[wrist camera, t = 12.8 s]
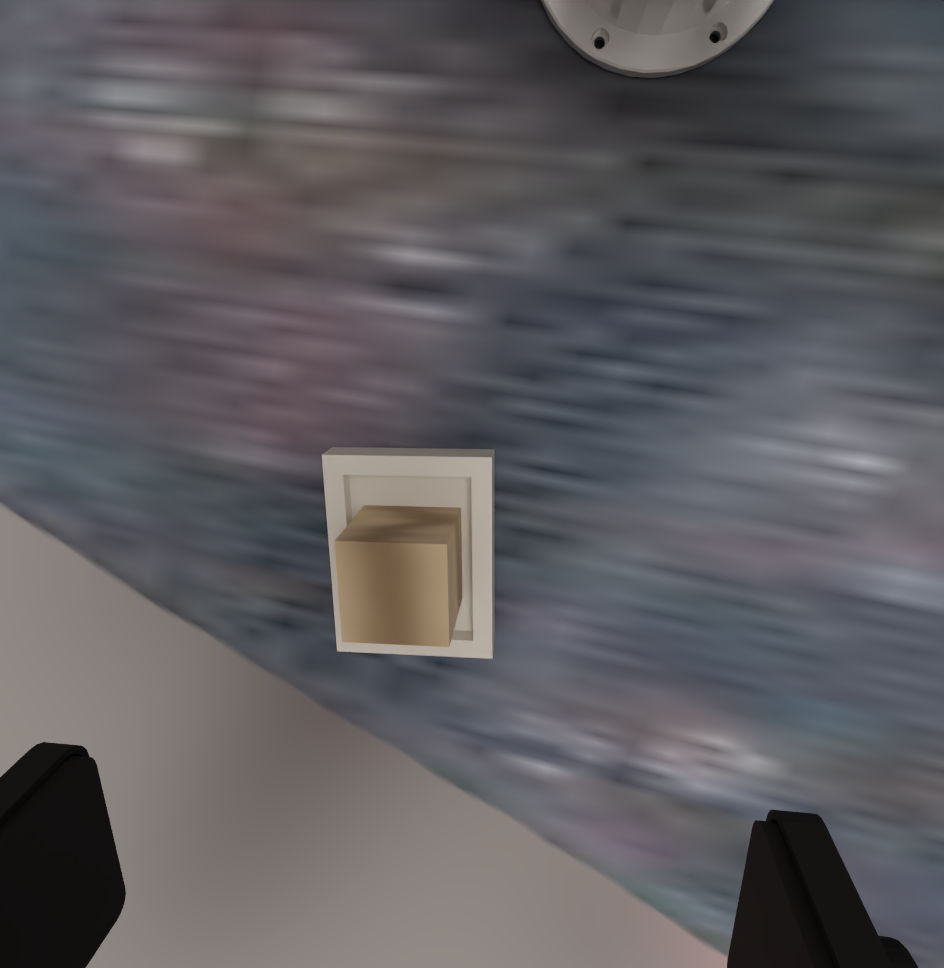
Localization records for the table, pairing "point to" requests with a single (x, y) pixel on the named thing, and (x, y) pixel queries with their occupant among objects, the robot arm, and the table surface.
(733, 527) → the table surface
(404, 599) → the oak cube
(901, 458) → the table surface
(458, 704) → the table surface
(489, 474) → the dish
